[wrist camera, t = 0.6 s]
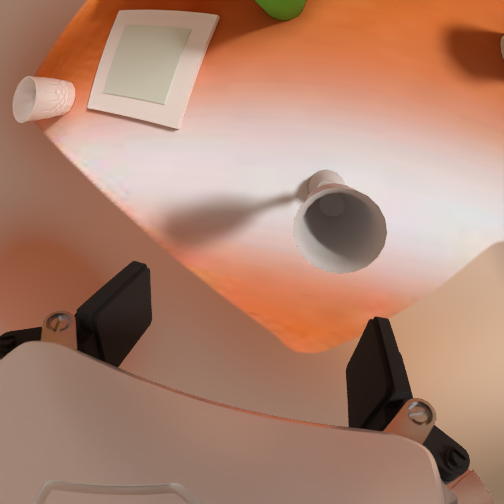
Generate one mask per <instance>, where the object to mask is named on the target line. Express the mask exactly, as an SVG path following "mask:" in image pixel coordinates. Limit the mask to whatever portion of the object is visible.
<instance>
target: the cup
mask: <svg viewBox="0 0 504 504" xmlns="http://www.w3.org/2000/svg"><path fill="white" fill-rule="evenodd" d="M255 1H256V2H257V3H258V4H259V6H260V7H261V8H262V9H263V10H264V11H265V12H266V13H267V14H268V15H269V16H271V17H272V18H274V19H278V20H290V19H294V18H295V17H297V16H298V15H300V14H301V12H302V10H303V8H304V5H305V2H306V0H255Z"/></svg>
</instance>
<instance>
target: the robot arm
mask: <svg viewBox="0 0 504 504" xmlns="http://www.w3.org/2000/svg"><path fill="white" fill-rule="evenodd" d="M151 321H152V309H151V287H150V269H149V268H147V266H146V264H143V263H140V262H136V261H133V262H131V263H130V264H129V265H128V266H127V267H125V268H124V269H123V270H122V271H121V272H119V273H118V274H117V275H116V276H115V277H113V278H112V279H111V280H110V281H109V282H108V283H106V284H105V285H104V286H103V287H102V288H101V289H100V290H98V291H97V292H96V293H95V294H94V295H93V296H92V297H90V298H89V299H88V300H87V301H86V302H85V303H84V304H83V305H81V306H80V307H79V308H78V309H77V313H76V314H75V315H73V314H72V313H70V312H68V311H55V312H53V313H50V314H49V315H48V316H46V318H45V319H44V321H43V324H42V327H37V328H30V329H24V330H17V331H10V332H6V333H4V334H3V335H1V336H0V504H494V499H493V497H492V495H491V494H490V492H489V491H488V490H487V488H486V487H485V485H484V484H483V482H482V481H481V480H480V478H479V477H478V475H477V474H476V473H475V471H474V470H473V469H472V470H471V471H470V470H469V469H468V467H469V464H470V463H469V462H470V459H469V455H468V453H467V451H466V450H465V449H464V448H463V447H462V446H460V445H459V444H458V443H457V442H455V441H454V440H453V439H451V438H450V437H449V436H448V435H446V434H445V433H444V432H443V431H441V430H440V429H439V428H438V427H436V426H435V425H434V424H435V421H436V413H435V410H434V408H433V407H432V405H430V404H429V403H428V402H427V401H425V400H423V399H419V398H413V396H412V392H411V388H410V385H409V381H408V377H407V373H406V370H405V366H404V363H403V359H402V356H401V354H400V352H399V350H398V347H397V343H396V340H395V337H394V334H393V331H392V328H391V325H390V322H389V319H387V318H381V317H374V319H370V320H369V321H368V324H367V326H366V328H365V330H364V332H363V334H362V337H361V339H360V341H359V343H358V345H357V347H356V349H355V351H354V353H353V355H352V357H351V359H350V361H349V363H348V365H347V368H346V380H347V397H348V418H349V427H342V426H334V425H327V424H320V423H312V422H306V421H300V420H294V419H288V418H283V417H277V416H273V415H268V414H263V413H258V412H254V411H249V410H245V409H241V408H237V407H233V406H229V405H225V404H222V403H218V402H214V401H211V400H207V399H204V398H201V397H197V396H194V395H191V394H187V393H184V392H182V391H178V390H175V389H173V388H170V387H167V386H164V385H161V384H158V383H155V382H153V381H150V380H147V379H145V378H142V377H140V376H137V375H135V374H132V373H130V372H127V371H125V370H122V369H120V368H118V367H119V365H120V364H121V363H122V361H123V360H124V359H125V357H126V356H127V355H128V353H129V352H130V351H131V349H132V348H133V347H134V345H135V344H136V343H137V341H138V340H139V339H140V337H141V336H142V335H143V333H144V332H145V331H146V329H147V328H148V327H149V326H150V324H151Z"/></svg>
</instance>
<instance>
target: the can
mask: <svg viewBox="0 0 504 504" xmlns="http://www.w3.org/2000/svg"><path fill="white" fill-rule="evenodd" d="M500 47H501V53H502V56H503V59H504V35H503V37H502V38H501V42H500Z"/></svg>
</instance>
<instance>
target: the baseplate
mask: <svg viewBox="0 0 504 504" xmlns="http://www.w3.org/2000/svg"><path fill="white" fill-rule="evenodd" d="M219 19H220V17H219V15H215V14H207V13H198V12H188V11H173V10H119V12H118V15H117V17H116V19H115V22H114V24H113V27H112V29H111V32H110V34H109V37H108V40H107V42H106V45H105V48H104V51H103V54H102V57H101V60H100V63H99V66H98V69H97V73H96V76H95V80H94V83H93V87H92V91H91V94H90V98H89V102H88V106H87V108H90V109H95V110H100V111H105V112H110V113H114V114H119V115H124V116H128V117H132V118H137V119H141V120H145V121H149V122H153V123H157V124H161V125H164V126H168V127H172V128H175V129H180V127H181V124H182V121H183V117H184V114H185V111H186V108H187V105H188V101H189V98H190V95H191V92H192V89H193V86H194V84H195V81H196V78H197V75H198V72H199V69H200V67H201V64H202V61H203V59H204V56H205V53H206V51H207V48H208V46H209V43H210V41H211V38H212V36H213V33H214V31H215V28H216V26H217V24H218V21H219Z"/></svg>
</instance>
